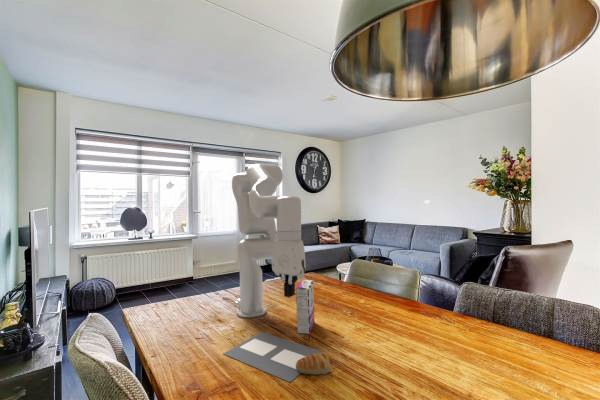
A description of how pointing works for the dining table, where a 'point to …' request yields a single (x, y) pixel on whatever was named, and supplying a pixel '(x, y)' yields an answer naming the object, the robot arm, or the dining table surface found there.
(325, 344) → the dining table surface
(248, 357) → the label mat
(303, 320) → the candy bar box
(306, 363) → the pastry
